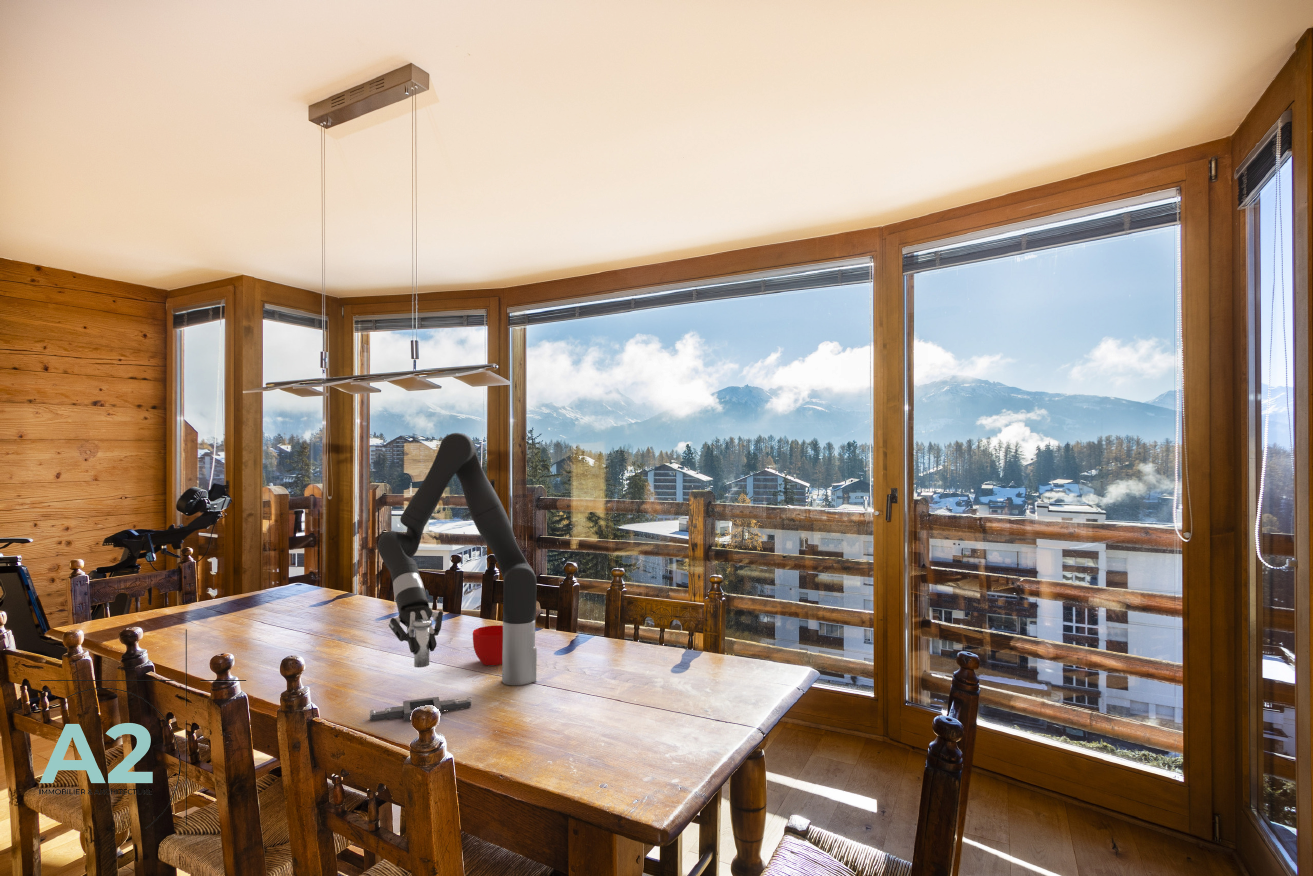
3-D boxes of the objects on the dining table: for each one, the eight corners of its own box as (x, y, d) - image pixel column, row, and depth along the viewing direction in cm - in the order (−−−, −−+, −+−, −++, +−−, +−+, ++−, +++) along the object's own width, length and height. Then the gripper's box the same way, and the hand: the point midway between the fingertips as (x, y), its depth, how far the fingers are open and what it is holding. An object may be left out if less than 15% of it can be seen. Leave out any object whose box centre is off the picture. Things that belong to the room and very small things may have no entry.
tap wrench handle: (469, 700, 170) (469, 692, 171) (473, 712, 163) (473, 703, 163) (369, 713, 161) (370, 705, 161) (369, 726, 153) (369, 717, 153)
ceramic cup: (498, 674, 191) (499, 640, 192) (463, 663, 202) (464, 631, 202) (531, 664, 202) (532, 631, 202) (496, 654, 212) (497, 623, 212)
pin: (430, 661, 166) (431, 618, 166) (431, 666, 161) (432, 622, 162) (411, 663, 164) (412, 620, 164) (412, 669, 160) (412, 624, 160)
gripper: (385, 589, 165) (398, 648, 155) (440, 582, 174) (456, 638, 164) (379, 606, 169) (392, 664, 159) (433, 599, 178) (448, 654, 168)
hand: (424, 650), depth 161 cm, fingers closed on pin, 3 cm apart
